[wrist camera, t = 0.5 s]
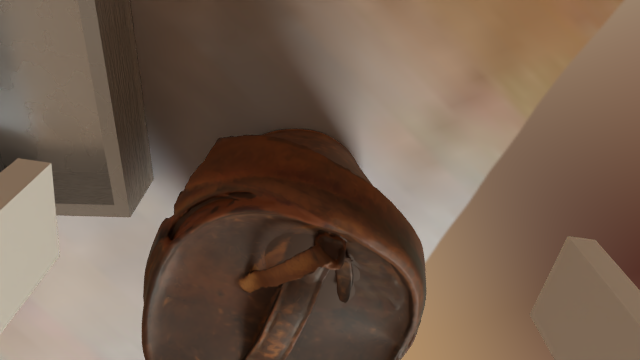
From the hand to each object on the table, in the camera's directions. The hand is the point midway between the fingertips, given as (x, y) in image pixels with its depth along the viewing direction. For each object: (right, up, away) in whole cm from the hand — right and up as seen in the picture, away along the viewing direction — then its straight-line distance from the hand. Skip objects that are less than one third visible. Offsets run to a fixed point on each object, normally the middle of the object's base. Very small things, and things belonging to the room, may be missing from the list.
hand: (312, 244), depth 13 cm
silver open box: (-20, +10, +24) cm, 33 cm away
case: (-2, +1, +30) cm, 30 cm away
